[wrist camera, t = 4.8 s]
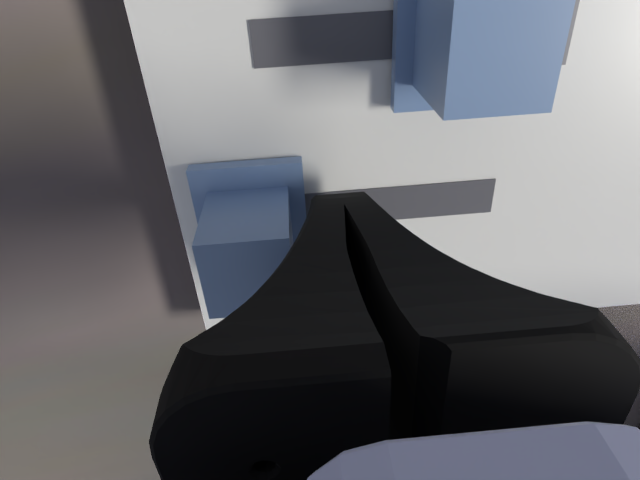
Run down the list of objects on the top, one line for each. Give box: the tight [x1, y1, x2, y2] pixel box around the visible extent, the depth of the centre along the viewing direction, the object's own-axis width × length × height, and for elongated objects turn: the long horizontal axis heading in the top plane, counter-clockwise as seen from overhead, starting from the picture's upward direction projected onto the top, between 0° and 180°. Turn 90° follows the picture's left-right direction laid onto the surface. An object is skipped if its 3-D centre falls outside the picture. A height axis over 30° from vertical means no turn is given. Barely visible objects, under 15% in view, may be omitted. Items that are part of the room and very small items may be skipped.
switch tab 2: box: [390, 0, 576, 121], centre depth 9 cm, size 3×3×3 cm
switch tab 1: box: [186, 156, 306, 319], centre depth 11 cm, size 3×3×3 cm
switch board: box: [124, 0, 640, 330], centre depth 12 cm, size 15×16×2 cm
